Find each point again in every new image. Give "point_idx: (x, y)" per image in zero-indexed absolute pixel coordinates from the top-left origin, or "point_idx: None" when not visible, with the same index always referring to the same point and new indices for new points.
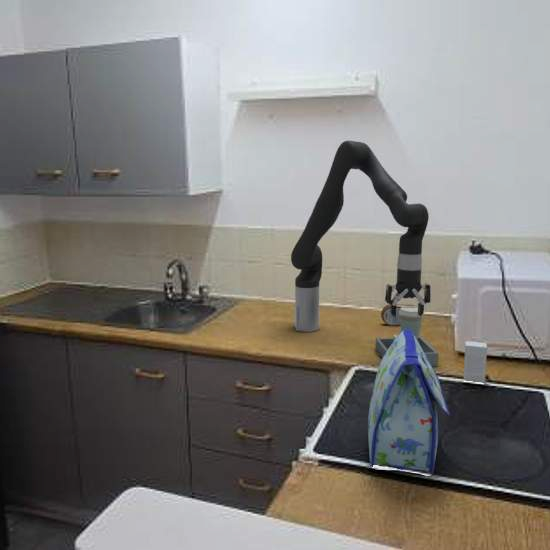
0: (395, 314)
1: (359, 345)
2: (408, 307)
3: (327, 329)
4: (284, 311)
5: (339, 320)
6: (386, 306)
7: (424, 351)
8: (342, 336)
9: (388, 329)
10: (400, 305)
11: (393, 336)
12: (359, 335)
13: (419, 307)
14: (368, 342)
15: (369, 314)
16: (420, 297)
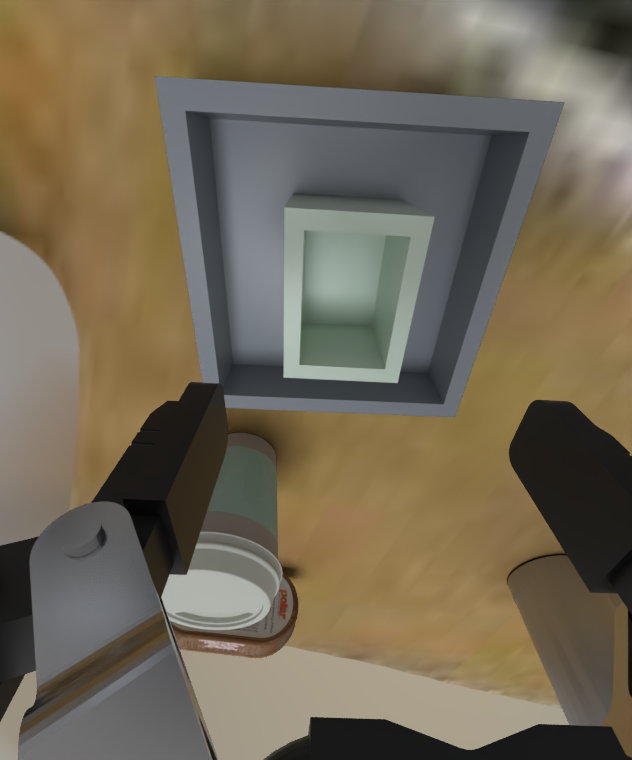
0: (562, 411)
1: (466, 440)
2: (215, 619)
3: (488, 564)
4: (522, 657)
5: (411, 607)
6: (277, 647)
7: (223, 296)
8: (476, 516)
9: (288, 544)
10: (223, 648)
11: (396, 378)
12: (412, 516)
13: (190, 482)
14: (414, 460)
15: (304, 627)
16: (59, 745)
